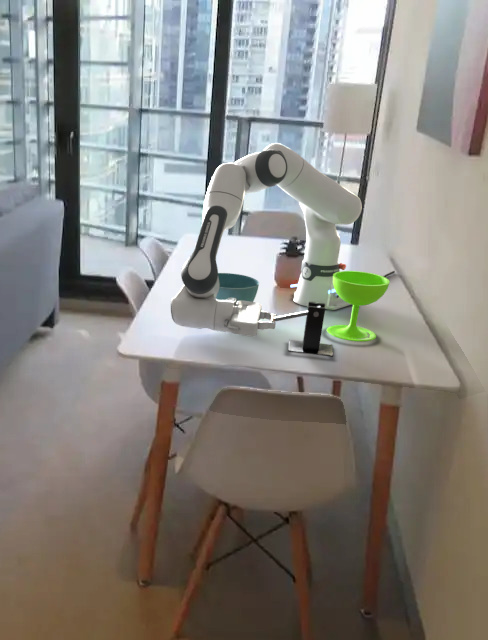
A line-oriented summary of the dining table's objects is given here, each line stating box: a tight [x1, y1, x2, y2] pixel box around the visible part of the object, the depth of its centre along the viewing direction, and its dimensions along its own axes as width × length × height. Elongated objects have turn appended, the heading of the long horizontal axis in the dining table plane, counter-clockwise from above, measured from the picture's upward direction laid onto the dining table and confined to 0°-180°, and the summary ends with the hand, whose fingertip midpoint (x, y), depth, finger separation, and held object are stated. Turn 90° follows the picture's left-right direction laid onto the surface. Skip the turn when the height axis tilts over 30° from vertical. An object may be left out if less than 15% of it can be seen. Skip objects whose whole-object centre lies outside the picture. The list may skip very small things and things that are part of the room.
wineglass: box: [326, 270, 391, 342], centre depth 212 cm, size 16×16×18 cm
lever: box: [269, 305, 321, 322], centre depth 199 cm, size 14×6×2 cm, turn 77°
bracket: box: [287, 302, 334, 357], centre depth 199 cm, size 12×9×14 cm
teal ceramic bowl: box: [216, 272, 260, 302], centre depth 224 cm, size 18×18×12 cm
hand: (276, 321), depth 201 cm, fingers closed on lever, 6 cm apart
